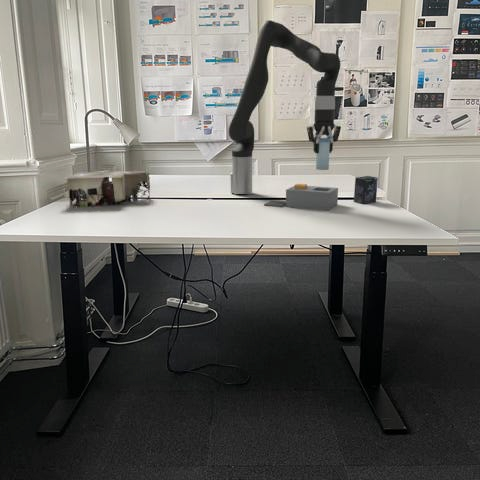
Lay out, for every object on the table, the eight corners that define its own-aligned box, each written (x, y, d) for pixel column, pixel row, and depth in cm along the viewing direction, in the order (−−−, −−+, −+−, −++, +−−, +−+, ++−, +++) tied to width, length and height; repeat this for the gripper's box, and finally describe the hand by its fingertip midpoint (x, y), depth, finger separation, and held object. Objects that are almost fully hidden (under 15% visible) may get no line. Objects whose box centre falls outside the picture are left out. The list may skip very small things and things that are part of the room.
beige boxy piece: (147, 206, 203) (145, 175, 199) (69, 208, 200) (66, 177, 197) (151, 198, 220) (149, 169, 216) (79, 200, 217) (76, 171, 214)
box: (363, 204, 201) (365, 178, 198) (353, 202, 206) (354, 177, 203) (376, 202, 206) (378, 177, 203) (366, 199, 210) (367, 175, 207)
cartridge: (313, 168, 196) (314, 138, 192) (325, 167, 197) (326, 137, 194) (319, 170, 191) (320, 139, 187) (331, 169, 192) (333, 138, 189)
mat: (263, 205, 201) (263, 204, 201) (271, 202, 208) (271, 200, 208) (281, 207, 198) (281, 205, 197) (289, 203, 204) (289, 202, 204)
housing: (285, 206, 199) (286, 189, 197) (296, 201, 209) (296, 185, 207) (328, 210, 191) (329, 192, 189) (337, 204, 201) (338, 187, 199)
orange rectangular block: (294, 197, 200) (294, 185, 199) (297, 195, 204) (297, 183, 203) (303, 197, 199) (303, 185, 197) (306, 196, 202) (306, 184, 201)
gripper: (336, 107, 193) (334, 151, 198) (303, 108, 189) (302, 152, 194) (346, 108, 186) (343, 153, 191) (312, 108, 182) (310, 154, 187)
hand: (322, 152), depth 192 cm, fingers closed on cartridge, 5 cm apart
